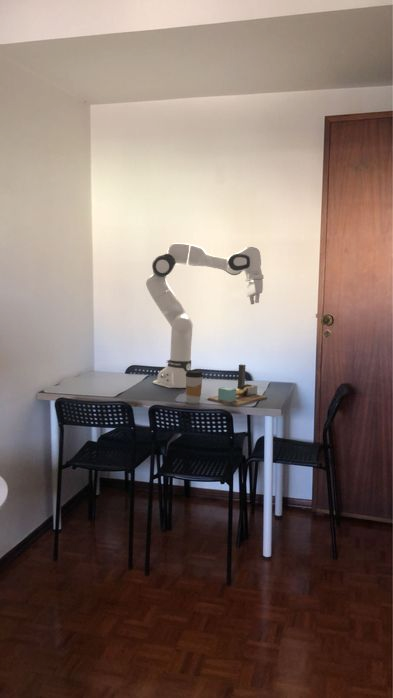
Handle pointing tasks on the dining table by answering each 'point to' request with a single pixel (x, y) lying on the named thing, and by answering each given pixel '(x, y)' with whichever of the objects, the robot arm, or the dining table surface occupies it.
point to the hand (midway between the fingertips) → (254, 303)
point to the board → (239, 400)
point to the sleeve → (250, 390)
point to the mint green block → (227, 394)
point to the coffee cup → (193, 385)
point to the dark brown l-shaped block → (241, 381)
